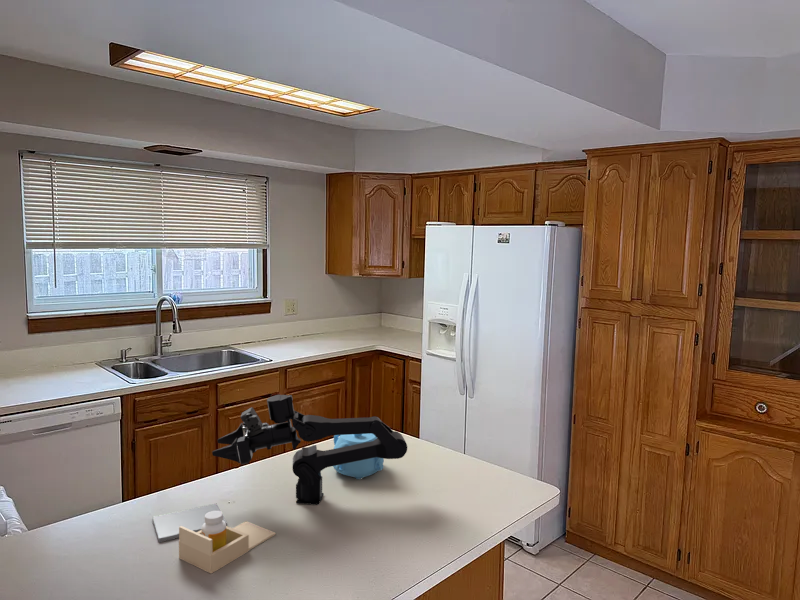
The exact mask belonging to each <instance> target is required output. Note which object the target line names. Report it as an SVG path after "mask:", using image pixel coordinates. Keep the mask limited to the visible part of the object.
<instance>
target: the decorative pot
mask: <svg viewBox="0 0 800 600" xmlns="http://www.w3.org/2000/svg"><path fill="white" fill-rule="evenodd" d="M375 439H377V437H376V436H375V435H374V434H372V433H370V434H348V435H333V445H334V446H333V449H336V448H341V447H346V446H351V445H356V444H361V443H366V442H371V441H374V440H375ZM384 460H385V459H384V458H378V457H375V458H370V459H365V460H360V461H355V462H350V463H346V464H341V465H336V466H332V467H333V469H334V470H335V471H336V472H337V473H339V474H340V473H341V475H343V476H348V477H353V478H354V479H355V478H356V479H355V480H362V479H364V478H366V477H369V476H372V475H373V474H375V473H377V472H381V471H383V470H384ZM361 478H362V479H361Z"/></svg>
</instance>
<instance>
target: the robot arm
mask: <svg viewBox="0 0 800 600" xmlns="http://www.w3.org/2000/svg"><path fill="white" fill-rule="evenodd" d="M266 403H267V408H268V409H267V410H268V415H269V419H270V421H273V423H274V424H269V423H267V422H262V420H261V418H260V417H259V415H258V413H257V412H256V410H255V409H254V407H253V406H252V407H249V408H247V409H246V410H244V411H243V412H241V415H240V419H241V421H242V422H241V423H240V424H239V426H238V428H237V429H236V430H233V431H231V432H230V433H228V434H226V435H224V436H221V437H219V438H218V439H217V443H218V444H223V445H226V446H222V447H221V448H218V449H215V450H212V451H211V453H212V456H213V457H217V458H222V459H226V460H230V461H233V462H237V463H238V464H240V465H246V464H249V463H250V462H251V461H252V460H253V455H254V453H256V451H257V450H261V449H267V450H268V451H269V450H272V447H276V446H279V445H285V444H290V443H291V446H292V449H293V450H294V451H295V450H297V447H298V445H299V444H301V441H304V442H308V443H309V442H315V441H320V440H323V439H324V438H327V437H330V436H331V437H332V436H334V435H348V434H370V433H372V434H374V435H375V436H376V437H377V439H375V440H374V441H371V442H366V443H361V444H356V445H351V446H346V447H341V448H336V449H334V448H331V449H327V450H321V449H317V445H316V444H315V445H314V444H313V445H311V446H308V447H304V446H302V447H301V449H299V450H297V451H296V452H295V454H293V457H292V473H293V474H294V475H295V476H296V477H298V479H297V482H296V484H295V498H296V501H295V503H296V504H299V505H313V506H316V505H317V506H319V505H320V504H321V502H322V499H323V498H324V495H325V494H324V492H323V476H322V471H323V470H325V469H326V468H330V467H331V468H332V467H333V466H336V465H341V464H346V463H350V462H355V461H360V460H365V459H370V458H375V457H378V458H384V460H396V459H397V460H399V459H401V458H403V457H404V456H405V455H406V453H407V452H408V444H407V442H406V440H405V438H404V436H403V435H402V433H400V432H398V431H396V430H395V431H394V430H393V429H391V427H390V426H388V425H387V424H386V423H384V421H382V420H381V419H380V418H379V417H378V416H371V417H370V416H369V417H348V418H346V417H345V418H328V417H324V416H321V415H313V414H303V413H301V412H298V411H296V410H295V409H294V408H295V407H294V403H293V395H292V394H288V395H287V394H276V395H273V396H270V397H268V398H267V399H266ZM298 436H299V437H298Z"/></svg>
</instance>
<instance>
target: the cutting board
mask: <svg viewBox="0 0 800 600" xmlns="http://www.w3.org/2000/svg"><path fill="white" fill-rule="evenodd" d="M210 511H221V512H222V510H221V508H220V507H219V505H218V504H217V503H212V504H207V505H202V506H198V507H197V506H196V507H191V508H187V509H183V510H177V511H173V512H169V513H164V514H159V515H154V516H152V522H153V523H154V524H153V523H152V524H153V526H154V531H155V534H156V537H157V539H158V543H162V541H163V542H166V540H167V541H171V540H174V539H175V538H176V539H179V527H180V526H183V527H185V528H187V529H190V530H192V531H194V532H198V531H200V530H202V525H203V524H204V523H205V514H206V513H208V512H210ZM223 521H224V522H225V523H226V526H228V522H227V520H226V518H225V516H224V515H223Z"/></svg>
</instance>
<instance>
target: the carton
mask: <svg viewBox="0 0 800 600" xmlns="http://www.w3.org/2000/svg"><path fill="white" fill-rule="evenodd" d="M275 535H276V532H274V531H272V530H270V529H267V528H264V527H262V526H259V525H257V524H254V523H252V522H250V521H244V522H242V523H240V524H238V525H236V526H234V527H230V526H228V525H227V526H226V545H225V546H223V547H221V548H220V549H218V550H216V551H214V552H213V549H212V539H210V538H208V537H206V536H203V535H202V530H200V531H198V532H194V531H192V530H190V529H187V528H185V527H183V526H180V527H179V538H178V539H179V540H178V558H179V559H180V560H182V561H183V562H186V563H187V564H190V565H192V566H194V567H197V568H199V569H201V570H202V571H205V572H207V573H209V574H213V573H215V572H216V571H218V570H220V569H222V568H223V567H225V566H227V565H228V564H230V563H231V562H234V561H235V560H236V559H238V558H240V557H241V556H243V555H244V554H246V553H249V551H250V550H252V549H254V548H255V547H257V546H259V545H260V544H262V543H263V542H265V541H267V540H269V539H271V538H272V537H274V536H275Z"/></svg>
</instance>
